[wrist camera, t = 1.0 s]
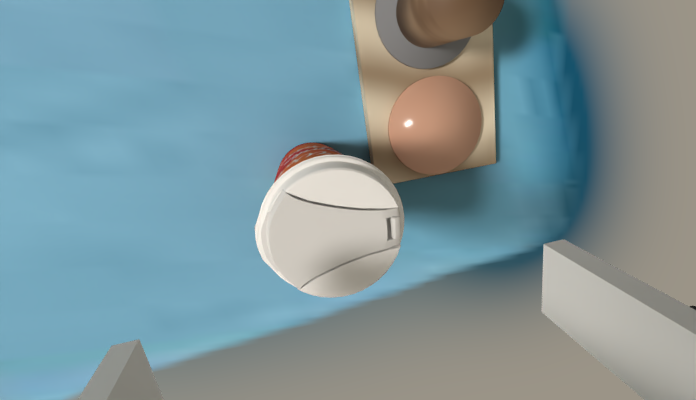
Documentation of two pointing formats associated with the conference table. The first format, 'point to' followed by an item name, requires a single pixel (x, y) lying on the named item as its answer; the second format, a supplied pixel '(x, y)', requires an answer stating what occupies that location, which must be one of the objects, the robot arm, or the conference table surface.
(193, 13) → the conference table surface
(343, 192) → the paper cup
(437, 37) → the brown short cylinder
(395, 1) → the grey pad
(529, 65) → the conference table surface
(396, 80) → the board
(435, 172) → the terracotta pad
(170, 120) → the conference table surface
